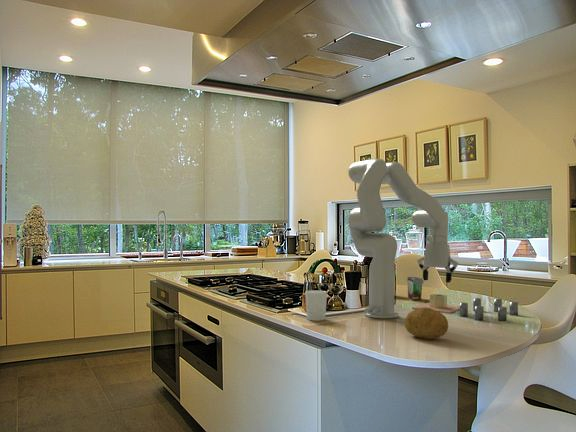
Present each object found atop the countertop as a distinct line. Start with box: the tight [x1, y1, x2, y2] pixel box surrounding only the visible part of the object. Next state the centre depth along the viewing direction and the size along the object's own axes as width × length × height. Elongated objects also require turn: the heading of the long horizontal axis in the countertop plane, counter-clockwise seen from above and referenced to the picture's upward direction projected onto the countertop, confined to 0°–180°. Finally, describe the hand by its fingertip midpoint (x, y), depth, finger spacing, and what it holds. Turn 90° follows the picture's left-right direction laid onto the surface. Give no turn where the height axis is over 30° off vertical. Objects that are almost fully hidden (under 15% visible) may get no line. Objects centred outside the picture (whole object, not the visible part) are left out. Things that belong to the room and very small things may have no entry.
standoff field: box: [459, 297, 519, 322], centre depth 184 cm, size 27×17×5 cm, turn 141°
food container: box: [406, 276, 425, 302], centre depth 225 cm, size 12×6×10 cm, turn 179°
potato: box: [404, 307, 449, 340], centre depth 145 cm, size 10×13×9 cm
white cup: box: [304, 289, 328, 322], centre depth 174 cm, size 8×8×10 cm
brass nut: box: [429, 293, 448, 309], centre depth 199 cm, size 7×6×5 cm
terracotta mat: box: [411, 302, 460, 314], centre depth 199 cm, size 16×16×1 cm
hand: (436, 281), depth 199 cm, fingers open, 9 cm apart
